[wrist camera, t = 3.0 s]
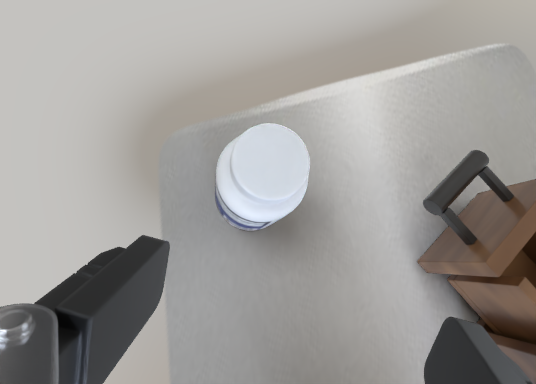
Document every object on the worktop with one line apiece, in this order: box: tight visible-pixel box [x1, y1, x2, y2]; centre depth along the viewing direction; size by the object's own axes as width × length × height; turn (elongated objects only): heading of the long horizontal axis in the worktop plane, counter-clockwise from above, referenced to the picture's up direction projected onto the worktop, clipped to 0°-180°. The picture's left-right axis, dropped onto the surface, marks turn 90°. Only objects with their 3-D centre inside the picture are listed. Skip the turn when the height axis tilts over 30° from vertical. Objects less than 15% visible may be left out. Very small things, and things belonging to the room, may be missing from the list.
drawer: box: [417, 150, 536, 345], centre depth 24 cm, size 15×8×7 cm, turn 42°
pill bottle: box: [215, 123, 310, 231], centre depth 21 cm, size 5×5×10 cm
